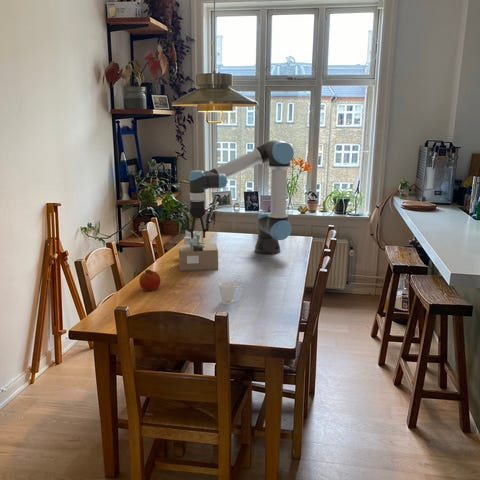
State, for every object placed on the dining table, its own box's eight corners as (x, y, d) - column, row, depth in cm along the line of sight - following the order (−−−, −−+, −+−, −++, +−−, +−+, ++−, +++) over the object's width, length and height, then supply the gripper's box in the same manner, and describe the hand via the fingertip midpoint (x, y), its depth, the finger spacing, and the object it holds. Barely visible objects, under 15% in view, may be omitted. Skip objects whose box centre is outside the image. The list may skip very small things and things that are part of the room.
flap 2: (215, 244, 253) (215, 232, 251) (217, 251, 240) (217, 238, 238) (196, 245, 252) (196, 232, 250) (197, 251, 239) (196, 238, 237)
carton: (216, 262, 256) (216, 244, 253) (218, 269, 242) (218, 251, 240) (179, 263, 253) (179, 245, 251) (179, 271, 240) (178, 252, 237)
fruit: (164, 286, 217) (163, 266, 214) (156, 293, 208) (155, 272, 205) (144, 285, 219) (143, 265, 216) (136, 292, 210) (135, 271, 207)
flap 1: (179, 252, 237) (178, 243, 236) (179, 245, 251) (178, 237, 249) (193, 252, 238) (193, 242, 237) (193, 245, 251) (193, 236, 250)
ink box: (183, 257, 265) (183, 232, 261) (185, 255, 269) (184, 230, 266) (198, 258, 264) (198, 232, 260) (200, 255, 269) (199, 230, 265)
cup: (219, 299, 201) (219, 281, 199) (242, 299, 201) (242, 281, 199) (218, 305, 195) (218, 286, 193) (242, 305, 194) (242, 286, 192)
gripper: (212, 199, 247) (213, 241, 253) (181, 199, 245) (182, 242, 251) (213, 201, 240) (214, 245, 245) (180, 201, 238) (182, 246, 243)
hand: (198, 243), depth 248 cm, fingers open, 4 cm apart
